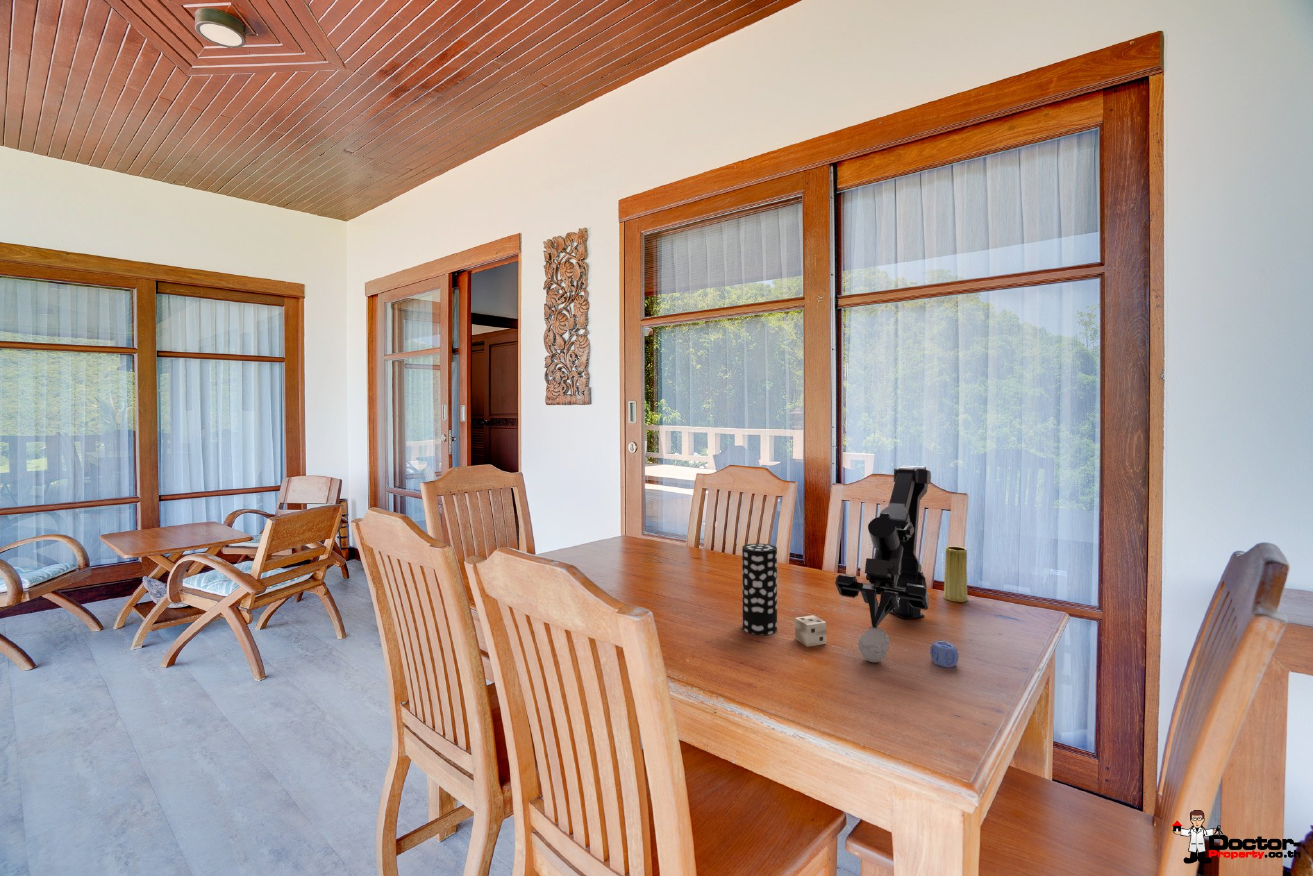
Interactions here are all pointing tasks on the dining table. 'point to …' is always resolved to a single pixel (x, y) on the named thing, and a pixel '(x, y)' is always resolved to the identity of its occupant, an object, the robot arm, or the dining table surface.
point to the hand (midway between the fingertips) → (874, 626)
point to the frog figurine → (874, 644)
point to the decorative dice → (944, 654)
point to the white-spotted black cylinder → (759, 588)
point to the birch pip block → (810, 630)
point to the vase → (955, 574)
